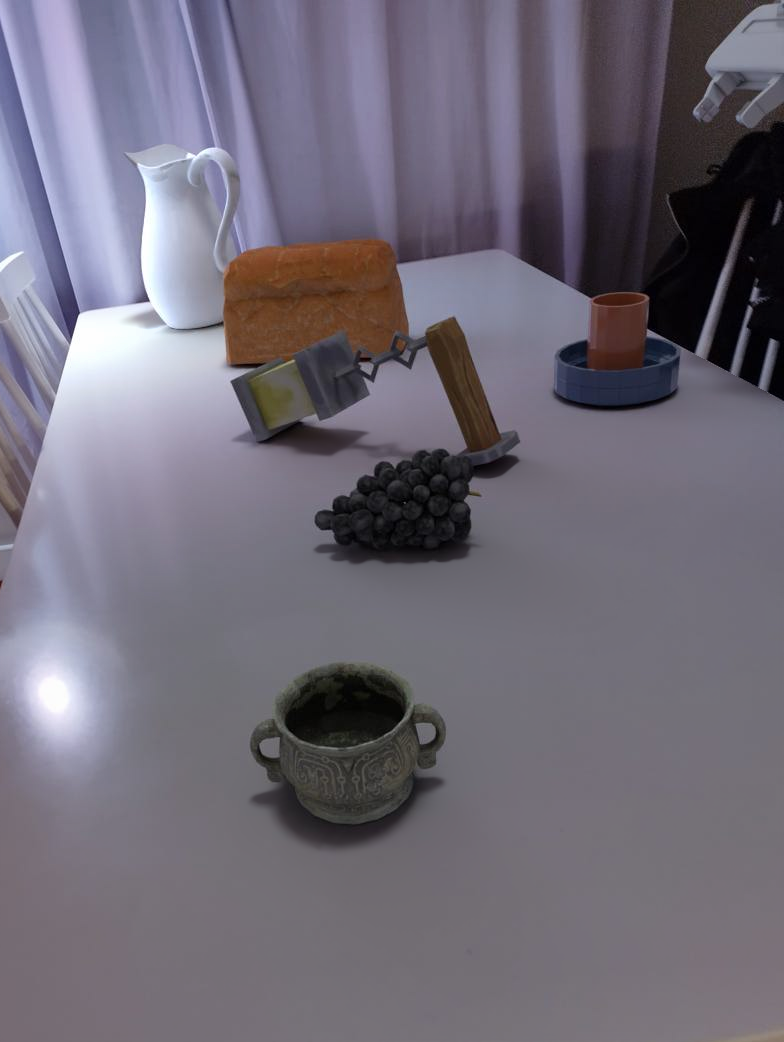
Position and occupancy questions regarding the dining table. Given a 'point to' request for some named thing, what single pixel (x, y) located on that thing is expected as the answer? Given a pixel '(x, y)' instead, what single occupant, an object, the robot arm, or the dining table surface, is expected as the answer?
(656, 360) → the bowl
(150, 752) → the dining table surface
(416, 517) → the fruit
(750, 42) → the robot arm
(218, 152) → the pitcher
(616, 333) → the cup
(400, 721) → the vessel
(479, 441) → the lantern
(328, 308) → the bread
